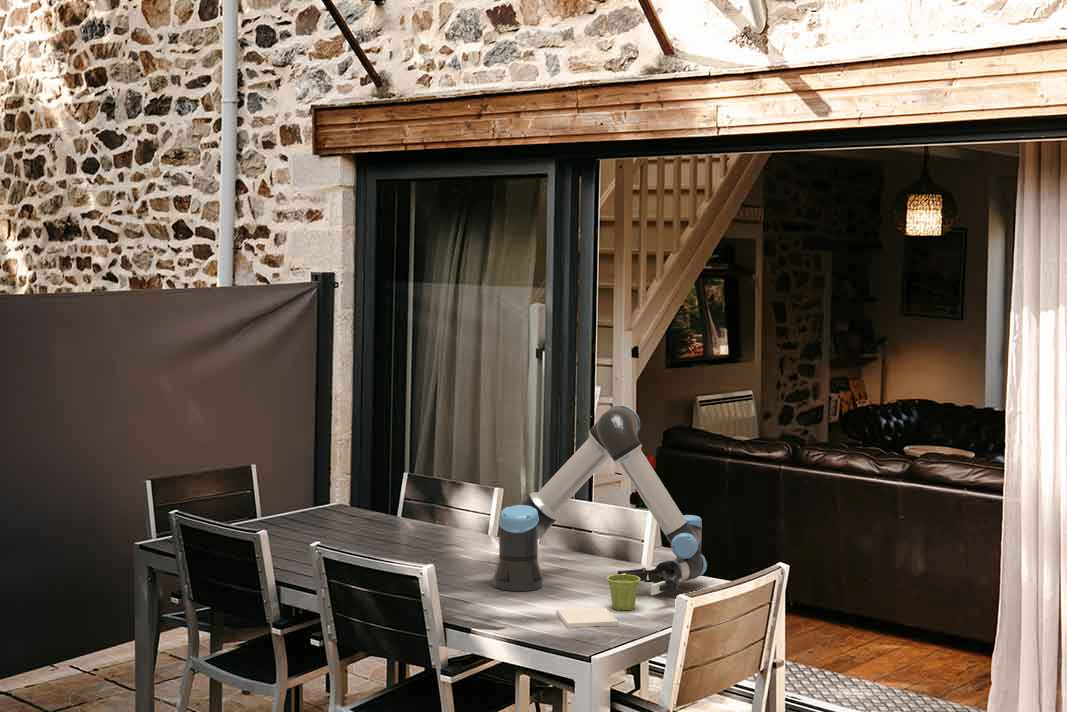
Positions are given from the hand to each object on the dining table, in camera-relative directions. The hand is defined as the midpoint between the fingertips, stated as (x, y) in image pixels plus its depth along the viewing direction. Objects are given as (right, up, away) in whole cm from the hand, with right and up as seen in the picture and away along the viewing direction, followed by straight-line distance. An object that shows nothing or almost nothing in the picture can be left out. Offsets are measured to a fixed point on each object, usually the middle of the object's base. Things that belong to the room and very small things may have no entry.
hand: (631, 586), depth 355 cm
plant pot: (-3, -6, -2) cm, 7 cm away
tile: (-13, -7, -14) cm, 20 cm away
